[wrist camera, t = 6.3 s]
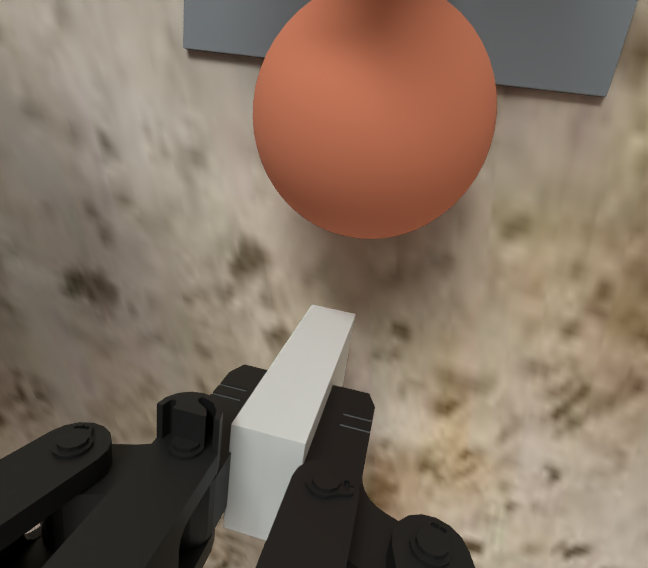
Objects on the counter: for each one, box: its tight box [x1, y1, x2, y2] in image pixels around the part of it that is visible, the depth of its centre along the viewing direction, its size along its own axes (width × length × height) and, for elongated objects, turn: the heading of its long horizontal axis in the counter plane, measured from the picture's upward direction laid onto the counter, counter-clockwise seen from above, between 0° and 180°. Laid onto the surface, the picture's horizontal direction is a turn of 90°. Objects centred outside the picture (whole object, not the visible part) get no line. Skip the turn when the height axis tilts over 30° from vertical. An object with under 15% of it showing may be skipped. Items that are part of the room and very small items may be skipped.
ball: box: [253, 0, 497, 239], centre depth 11 cm, size 6×6×6 cm
